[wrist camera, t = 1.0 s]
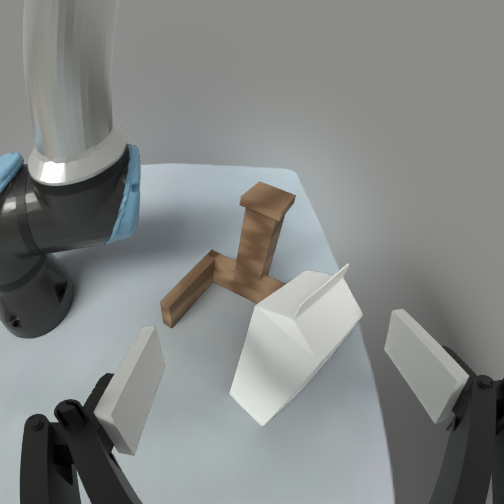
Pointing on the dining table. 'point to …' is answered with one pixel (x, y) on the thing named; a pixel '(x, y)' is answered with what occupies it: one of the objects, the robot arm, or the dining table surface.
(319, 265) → the dining table surface
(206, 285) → the post bracket
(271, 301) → the milk
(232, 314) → the dining table surface
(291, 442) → the dining table surface
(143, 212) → the dining table surface
